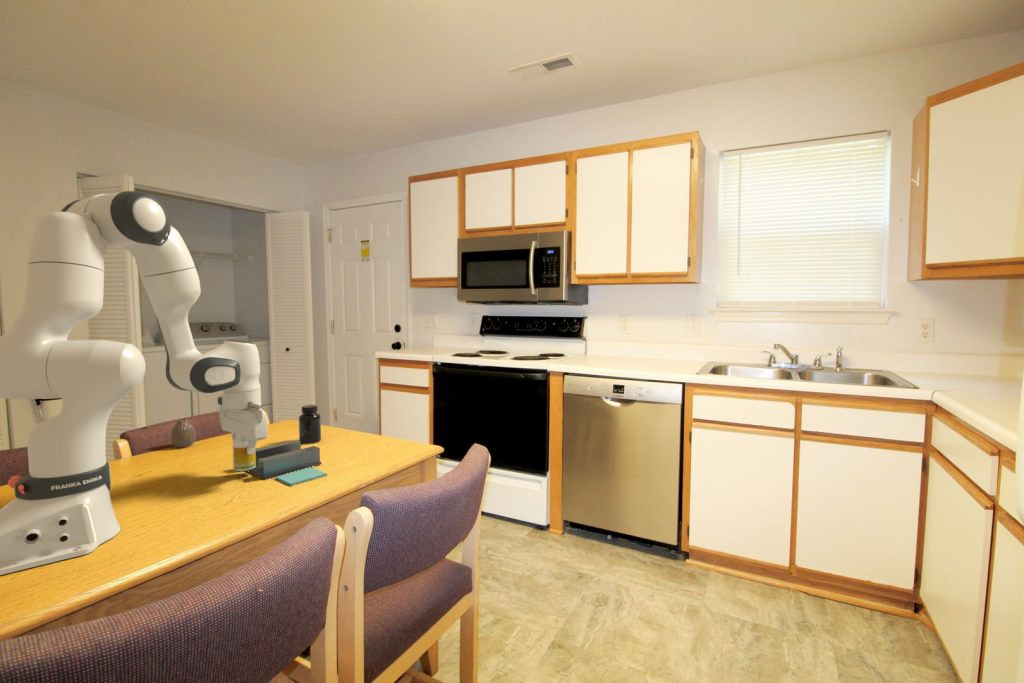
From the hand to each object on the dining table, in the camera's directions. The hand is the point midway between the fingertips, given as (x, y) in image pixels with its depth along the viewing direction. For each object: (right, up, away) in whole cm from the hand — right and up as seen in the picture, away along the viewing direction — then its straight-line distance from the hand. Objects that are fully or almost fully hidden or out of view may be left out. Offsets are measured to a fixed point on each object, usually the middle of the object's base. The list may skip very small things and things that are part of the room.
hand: (244, 451), depth 132 cm
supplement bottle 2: (+4, -5, +34) cm, 35 cm away
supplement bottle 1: (0, -5, 0) cm, 5 cm away
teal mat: (+16, -7, -1) cm, 17 cm away
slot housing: (+6, -6, +8) cm, 12 cm away
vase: (-35, -5, +27) cm, 44 cm away
